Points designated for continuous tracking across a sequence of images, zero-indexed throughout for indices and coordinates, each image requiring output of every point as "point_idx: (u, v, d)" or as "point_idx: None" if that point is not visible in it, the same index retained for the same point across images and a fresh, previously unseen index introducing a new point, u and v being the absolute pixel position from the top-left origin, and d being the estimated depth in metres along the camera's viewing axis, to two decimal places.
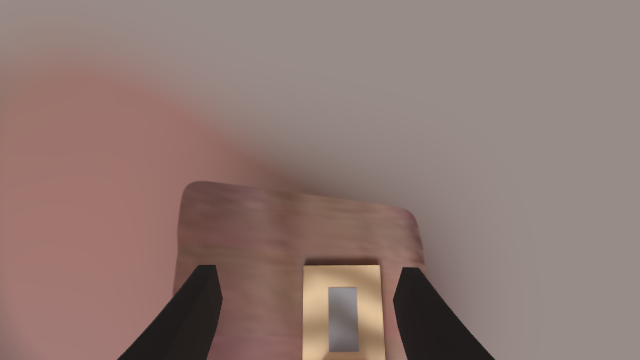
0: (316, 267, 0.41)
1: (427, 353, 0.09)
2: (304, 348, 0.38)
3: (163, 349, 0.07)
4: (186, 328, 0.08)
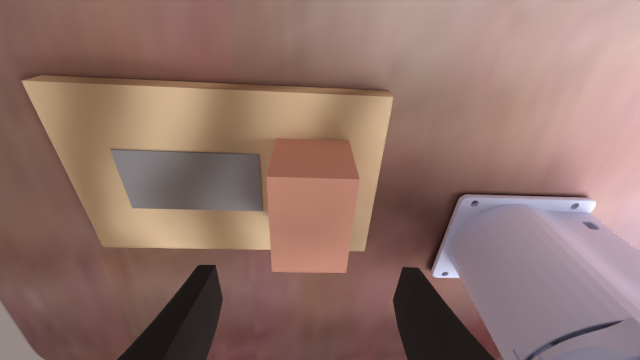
0: (97, 226, 0.18)
1: (427, 353, 0.09)
2: (258, 247, 0.20)
3: (163, 349, 0.07)
4: (186, 328, 0.08)
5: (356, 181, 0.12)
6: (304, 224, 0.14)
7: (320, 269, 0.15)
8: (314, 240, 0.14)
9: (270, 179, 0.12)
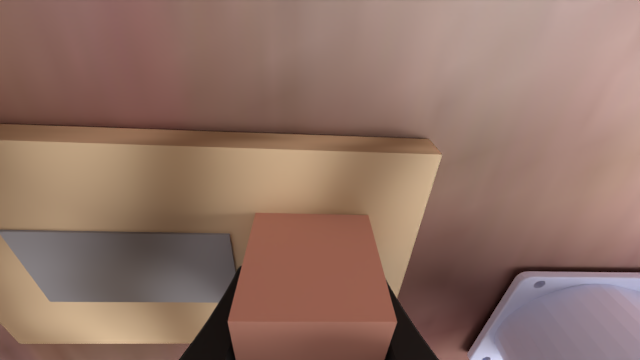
0: (4, 322, 0.13)
1: None
2: None
3: (222, 349, 0.08)
4: None
5: (391, 324, 0.07)
6: None
7: None
8: None
9: (235, 324, 0.07)
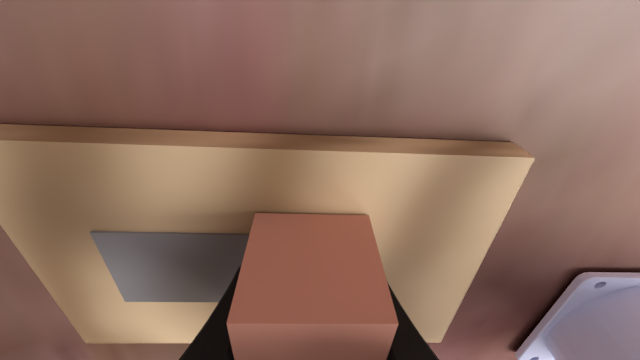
0: (75, 321, 0.13)
1: None
2: None
3: (222, 349, 0.08)
4: None
5: (392, 326, 0.07)
6: None
7: None
8: None
9: (234, 326, 0.07)
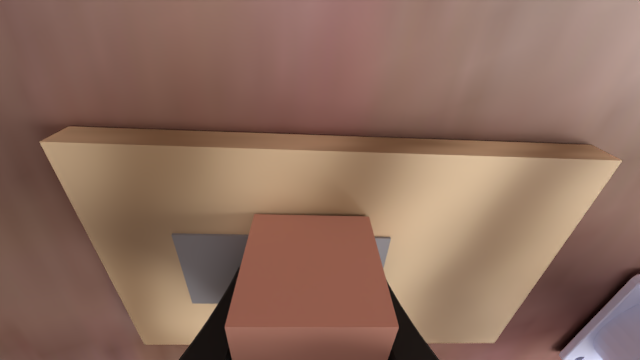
0: (139, 323, 0.13)
1: None
2: None
3: (221, 349, 0.08)
4: None
5: (392, 329, 0.07)
6: None
7: None
8: None
9: (232, 330, 0.06)
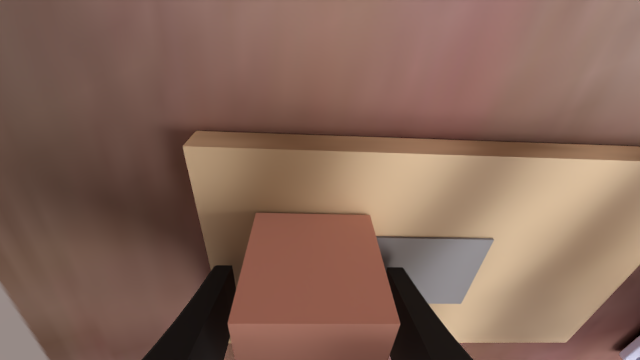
0: None
1: (408, 353, 0.09)
2: None
3: (186, 349, 0.07)
4: (207, 328, 0.08)
5: (394, 326, 0.07)
6: None
7: None
8: None
9: (235, 327, 0.07)
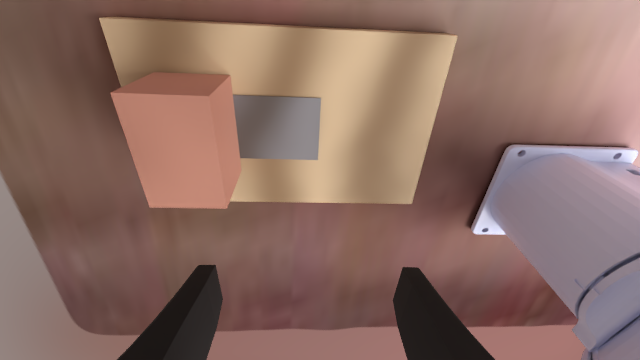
0: None
1: (427, 353, 0.09)
2: (309, 199, 0.20)
3: (163, 349, 0.07)
4: (186, 328, 0.08)
5: (206, 98, 0.12)
6: (166, 150, 0.13)
7: (199, 204, 0.15)
8: (182, 170, 0.14)
9: (115, 96, 0.12)
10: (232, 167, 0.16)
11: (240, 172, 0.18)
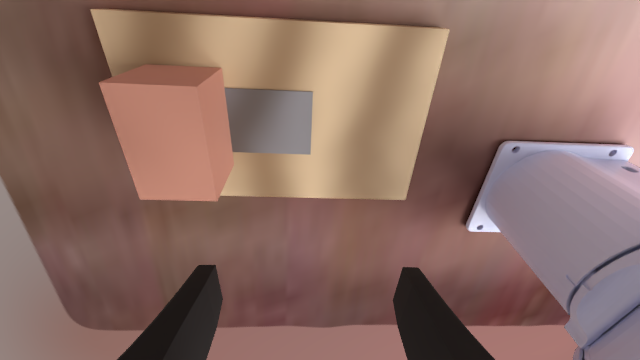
0: None
1: (427, 353, 0.09)
2: (302, 194, 0.20)
3: (163, 349, 0.07)
4: (186, 328, 0.08)
5: (194, 89, 0.12)
6: (155, 141, 0.13)
7: (189, 196, 0.15)
8: (172, 161, 0.14)
9: (103, 85, 0.12)
10: (223, 160, 0.16)
11: (232, 166, 0.18)
